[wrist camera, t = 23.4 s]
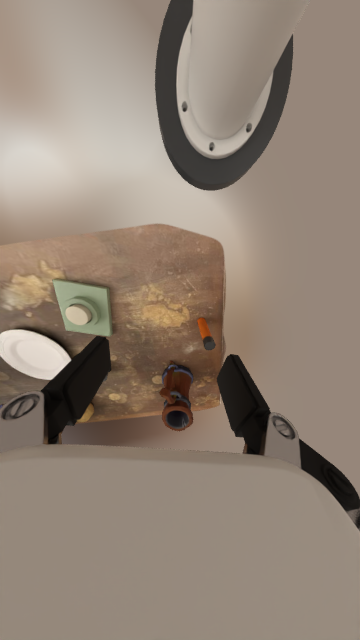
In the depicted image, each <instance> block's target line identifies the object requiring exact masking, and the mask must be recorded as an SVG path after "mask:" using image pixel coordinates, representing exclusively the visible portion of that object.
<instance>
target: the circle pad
mask: <svg viewBox="0 0 360 640" xmlns="http://www.w3.org/2000/svg"><path fill="white" fill-rule="evenodd" d="M65 314H66V317H67V318H68V320H69V321H71V322H72V323H74V324H76V325H84V324H86V323H87V322H89V321H90V320H91V318H92V313H91V311H90V310H89V309H88V308H87V307H86V306H84V305H81V304H74V305H72V306H70V307H68V308H67V309H66V311H65Z"/></svg>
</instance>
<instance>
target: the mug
mask: <svg viewBox="0 0 360 640" xmlns="http://www.w3.org/2000/svg"><path fill="white" fill-rule="evenodd" d="M170 364H171V365H170V366H169V368H167V369H166V370H165V371H164V373H163V375H162V383H163V384H164V386H165V388H162V390H161V391H160V392H159V393H160V395H161V396H162V397H164V398H165V399H166V400H165V402H164V410H163V412H162V420H163V422H164V424H165V426H167V427H168V428H170V429H172V430H175V431H182V430H185V428H187V427H189V426H190V425H191V424H192V423H193V417H192V416H193V414H192V412H191V410H190V409H191V403H190V401H189V389H190V386H191V384H192V382H193V374H192V373H191V371H190V370H189V369H188V368H186V367H184V366H177V365H175V364H174V363H173V361H170Z"/></svg>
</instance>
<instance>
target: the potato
mask: <svg viewBox="0 0 360 640" xmlns="http://www.w3.org/2000/svg"><path fill="white" fill-rule="evenodd" d="M93 412H94V408H93V405H92V404H91V403H90V404H89V406H88V408H87V409H86V411H85V413H84V414H83V416H82V418H81V419H80V420H77V421H78V422H86V421H88V420H89V419H90V417H91V416H92V414H93Z"/></svg>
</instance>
